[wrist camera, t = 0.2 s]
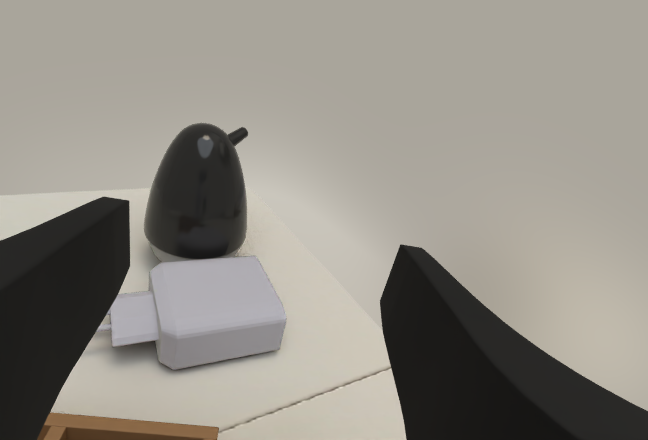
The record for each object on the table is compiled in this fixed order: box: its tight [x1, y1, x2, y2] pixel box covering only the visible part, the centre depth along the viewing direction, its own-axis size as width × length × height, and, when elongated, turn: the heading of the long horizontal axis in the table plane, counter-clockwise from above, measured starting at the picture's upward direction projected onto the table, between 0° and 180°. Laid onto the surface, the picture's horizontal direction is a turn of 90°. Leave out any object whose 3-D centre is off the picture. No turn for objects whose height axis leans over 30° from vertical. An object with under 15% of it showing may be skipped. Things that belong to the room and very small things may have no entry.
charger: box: [96, 256, 286, 370], centre depth 36 cm, size 5×9×15 cm
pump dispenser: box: [144, 123, 248, 263], centre depth 43 cm, size 10×10×15 cm
